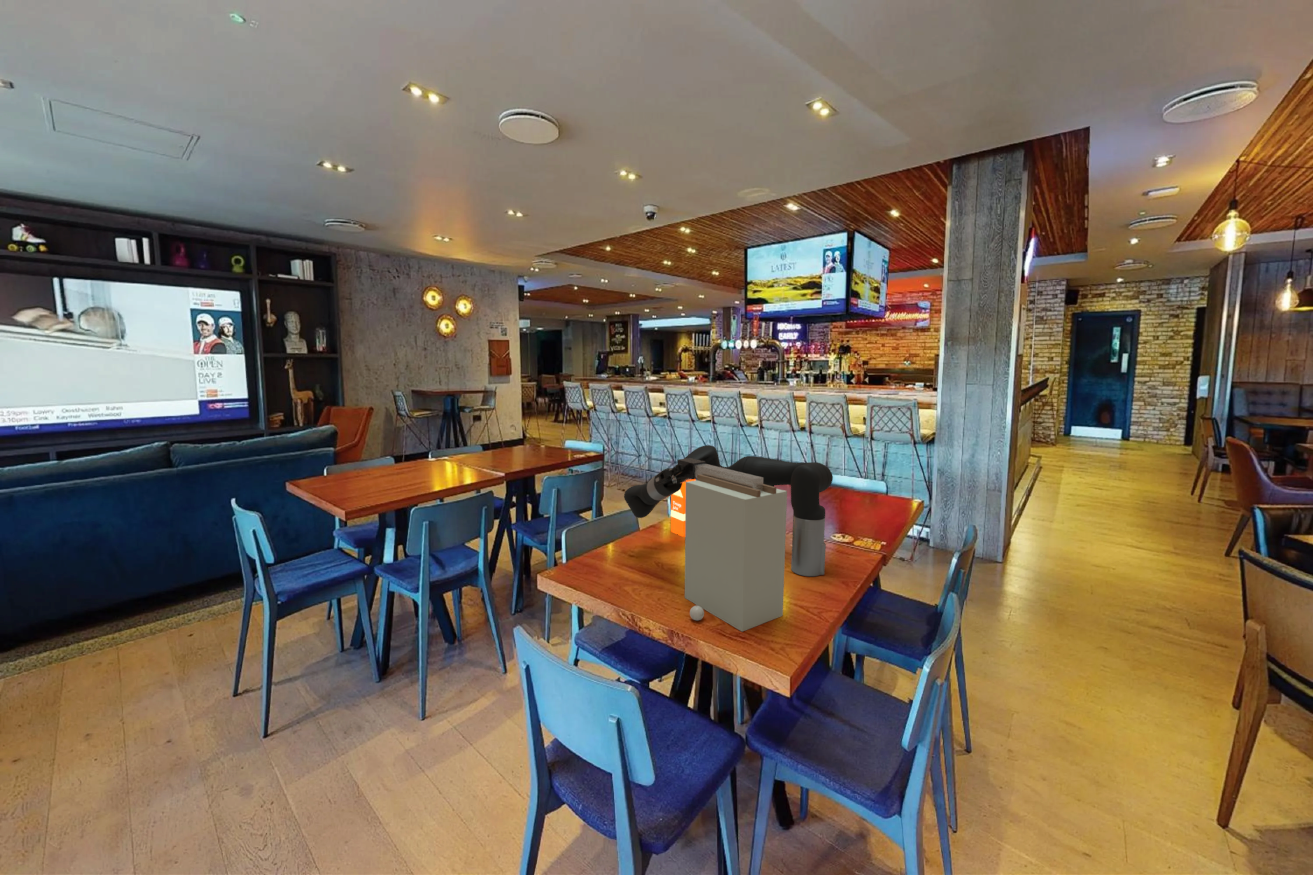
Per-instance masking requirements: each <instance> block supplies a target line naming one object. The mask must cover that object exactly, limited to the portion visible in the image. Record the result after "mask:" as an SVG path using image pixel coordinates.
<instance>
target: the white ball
mask: <svg viewBox="0 0 1313 875" xmlns="http://www.w3.org/2000/svg"><path fill="white" fill-rule="evenodd" d="M689 616H690V618H691V619H692V620H693V621H702V619H703V618H704V616H705V610H704V609H703V608H702V607H700V606H698V605H694V606H692V607H691V608H690V610H689Z"/></svg>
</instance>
